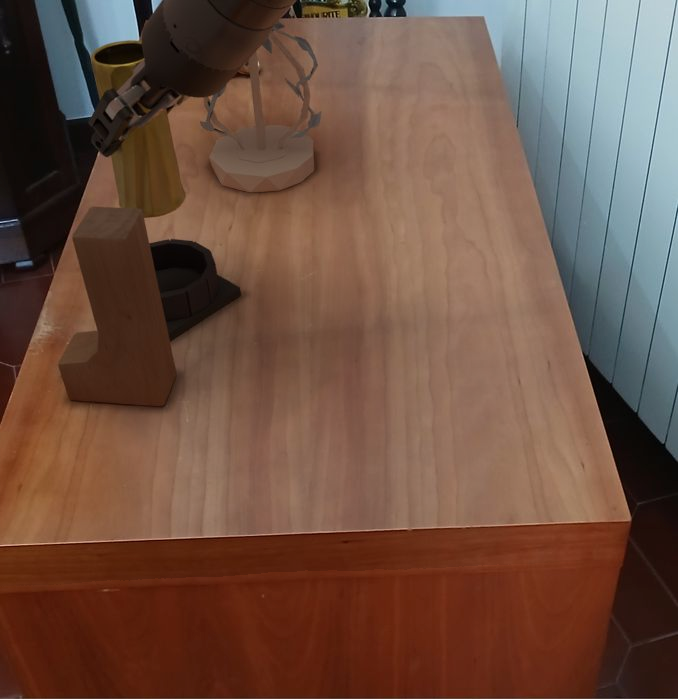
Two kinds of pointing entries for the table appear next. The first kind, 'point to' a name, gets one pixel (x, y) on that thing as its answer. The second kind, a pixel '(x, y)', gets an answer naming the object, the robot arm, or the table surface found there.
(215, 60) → the robot arm
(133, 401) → the wooden block
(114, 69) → the vase
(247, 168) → the table lamp
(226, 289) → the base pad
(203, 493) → the table surface
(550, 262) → the table surface
